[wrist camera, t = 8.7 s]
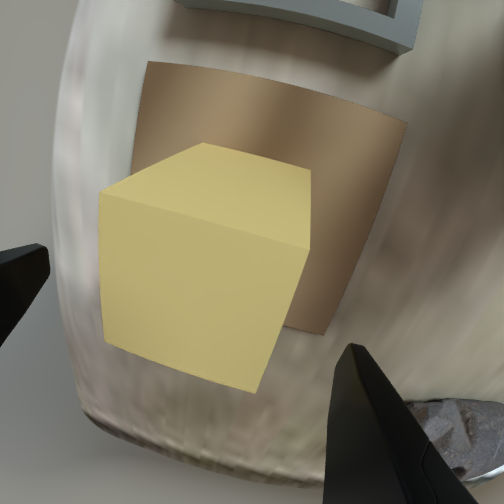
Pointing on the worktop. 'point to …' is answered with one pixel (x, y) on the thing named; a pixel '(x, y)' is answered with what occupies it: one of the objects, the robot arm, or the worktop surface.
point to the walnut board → (282, 159)
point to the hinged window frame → (335, 18)
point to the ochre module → (204, 260)
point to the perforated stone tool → (464, 433)
